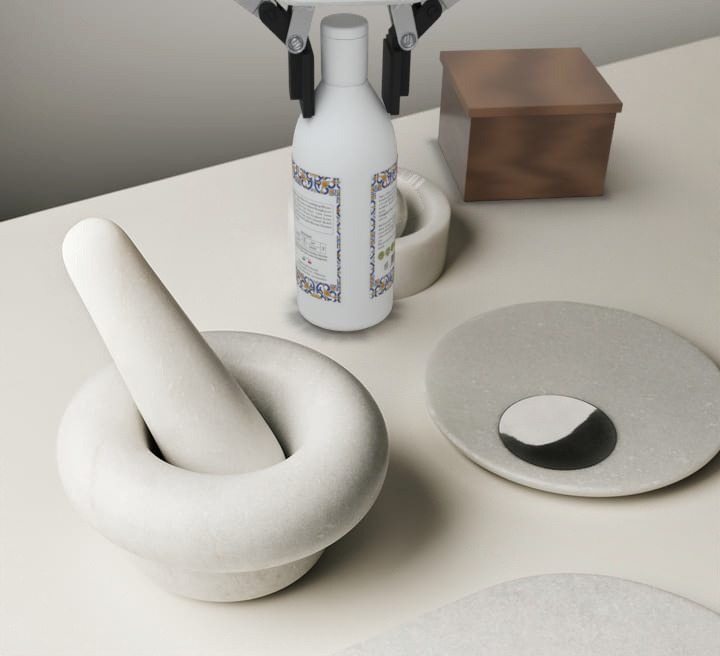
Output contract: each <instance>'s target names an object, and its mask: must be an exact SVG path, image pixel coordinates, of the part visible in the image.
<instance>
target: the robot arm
mask: <svg viewBox="0 0 720 656" xmlns="http://www.w3.org/2000/svg"><path fill="white" fill-rule="evenodd" d="M233 1H234V2H236V3H237V4H238V5H239V6H241V7H242V8H243V9H245V10H246V11H247V12H249V13H250V14H251V15H254V16H255V17H256V18H258V19H259V20H260V22H261V23H262V24H263V25H264V26H265V27H266V28H268V30H269V31H270V32H271V33H272V34H273V35H274V36H275V37H276V38H277V39H279V41H280V42H282V44H283V45H284V46H286V49H287V55H288V56H287V65H288V66H287V67H288V68H287V69H288V70H287V71H288V95H289V99H290V101H298V102H299V107H300V111H301V112H302V115H303V118H311V117H312V116H314V115H315V94H314V90H315V53H314V50H313V46H312V44H311V43H312V42H311V40H310V37H309V32H310V29H311V24H312V21H313V17H314V12H315V9H316V7H318V8H319V7H320V8H321V7H362V6H363V7H364V6H365V7H366V6H368V7H369V6H386V7H387V11H388V16H389V20H390V25H391V26H390V27H389V28H388V29H387V33H386V34H385V37H384V38H383V39H382V58H381V59H382V63H381V101H382V103H383V105H384V107H385V109H386V111H387V113H388V114H389V116H400V109H401V108H400V107H401V97H409V96H410V95H409V94H410V83H411V82H410V80H411V78H410V77H411V62H412V61H411V60H412V59H411V58H412V50H414V49H415V48H416V47H417V45H418V42H419V39H420V38H421V37H423V35H424V34H426V32H427V31H428V30H429V29H430V28H431V27H432V26H433V25H434V24H435V23H436V22H437V21H438V20H439V19H440V17H441V16H442V14H443V13H444V12H445V11H447V10H449V9H451V8H452V7H453V6H454V5H456V4H457V3H458V2H459V1H460V0H233ZM280 2H281V3H282V4H284V5H286V8H284V7H283V5H282V4H281V3H280Z"/></svg>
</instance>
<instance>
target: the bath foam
mask: <svg viewBox="0 0 720 656" xmlns="http://www.w3.org/2000/svg"><path fill="white" fill-rule="evenodd" d="M319 25H320V29H319V30H320V33H319V34H320V75H321V76H320V77H321V78H320V81H319V82H318V84H317V85H316V87H315V88H314V94H315V115H314V116H312V117H311V118H303V115H302V111H301V112H300V115H299V116H298V119H297V122H296V125H295V128H294V132H293V133H294V134H293V138H292V145H291V146H292V147H291V169H292V171H291V172H292V173H291V175H292V202H293V230H294V231H293V232H294V252H295V253H294V257H295V258H294V259H295V283H296V285H295V287H296V303H297V308H298V310H299V313H300V314H301V316H302V317H303V318H304V319H305V320H306V321H308V322H309V323H310V324H313V325H314V326H316V327H319V328H322V329H326V330H329V331H334V332H335V331H337V332H353V331H361V330H364V329H369V328H371V327H373V326H376V325H378V324H380V323H381V322H382V321H384V320H386V318H387V317H388V316H389V314H390V313H391V311H392V308H393V305H394V285H395V284H394V283H395V265H396V264H395V260H396V259H395V258H396V231H397V230H396V229H397V228H396V227H397V221H396V220H397V195H398V194H397V193H398V164H399V163H398V162H399V160H398V159H399V153H398V143H397V137H396V132H395V127H394V124H393V121H392V120H391V117H390V113H387V111H386V108H385V105H384V103H383V101H382V99H380V96H379V95H378V94H377V92H376V91H375V89H374V87H373V85H372V84H371V83H370V81H369V78H368V76H369V75H368V74H369V21H368V19H367V18H366V17H365V16H362V15H361V14H356V13H352V12H351V13H349V12H339V13H331V14H329V15H326V16H324V17H323V18H321V21H320V24H319Z"/></svg>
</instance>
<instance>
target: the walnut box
mask: <svg viewBox="0 0 720 656" xmlns="http://www.w3.org/2000/svg"><path fill="white" fill-rule="evenodd" d="M439 62H440V64H441V65H442V74H441V75H442V76H441V77H442V78H441V88H440V89H441V92H440V103H439V107H440V109H439V119H438V136H437V142H438V145H439V148H440V149H441V152H442V154H443V157H444V159H445V162H446V163H447V167H448V168H449V170H450V172H451V175H452V177H453V180H454V182H455V184H456V187H457V188H458V191H459V193H460V196H461V198H462V200H463V202H478V201H479V202H480V201H501V200H504V201H505V200H525V199H526V200H527V199H550V198H574V197H575V198H576V197H577V198H578V197H596V196H597V197H599V196H603V193H604V187H605V184H606V183H605V182H606V176H607V171H608V165H609V159H610V153H611V147H612V141H613V137H614V130H615V125H616V118H617V114H621V113H622V112H623V106H624V103H623V101H622V100H621V99H620V97H619V96H618V95H617V93H615V91H614V89H613V88H612V87H611V86H610V84H609V83H608V82H607V81H606V79H605V78H604V76H603V75H602V74H601V73H600V71H599V70H598V69H597V67H596V66H595V64H594V63H593V61H591V60H590V58H589V56H587V54H586V53H585V51H584V50H583V49H582V47H577V46H576V47H542V48H541V47H540V48H538V47H537V48H503V49H467V50H465V49H464V50H440V51H439Z"/></svg>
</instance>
